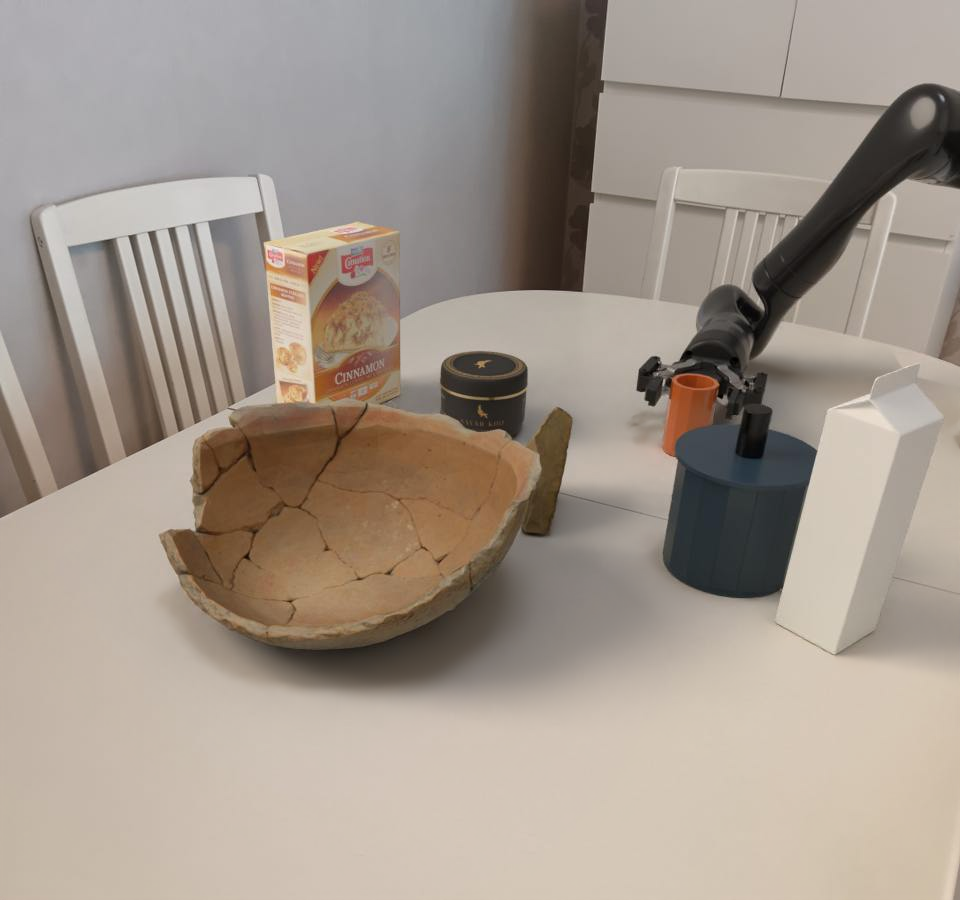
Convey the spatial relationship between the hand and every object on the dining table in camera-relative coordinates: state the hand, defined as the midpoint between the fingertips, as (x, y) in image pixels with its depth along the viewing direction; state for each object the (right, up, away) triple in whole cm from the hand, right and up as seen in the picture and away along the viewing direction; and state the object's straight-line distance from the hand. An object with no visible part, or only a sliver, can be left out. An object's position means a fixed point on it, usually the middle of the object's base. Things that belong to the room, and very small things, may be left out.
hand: (690, 404), depth 106 cm
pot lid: (0, -10, -23) cm, 25 cm away
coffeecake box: (-40, +3, +12) cm, 42 cm away
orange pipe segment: (0, -4, +4) cm, 6 cm away
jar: (-23, -1, +8) cm, 24 cm away
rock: (-18, -13, -9) cm, 24 cm away
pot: (0, -19, -16) cm, 25 cm away
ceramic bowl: (-34, -22, -22) cm, 46 cm away
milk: (+6, -25, -24) cm, 35 cm away
